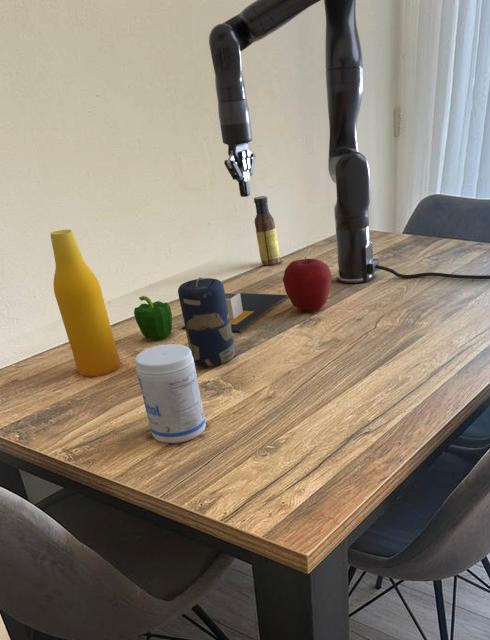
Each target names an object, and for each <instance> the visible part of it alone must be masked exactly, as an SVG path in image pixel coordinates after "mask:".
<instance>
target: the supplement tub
mask: <svg viewBox="0 0 490 640" xmlns="http://www.w3.org/2000/svg"><path fill="white" fill-rule="evenodd" d="M134 361H135V370H136V373H137V378H138V382H139V387H140V392H141V395H142V400H143V403H144V409H145V412H146V416H147V420H148V424H149V428H150V433H151V435H152V436H153V438H154V439H155V440H157V441H159V442H162V443H167V444H179V443H185V442H188V441H191V440H193V439H195V438H197V437H198V436H200V435H202V434H203V432H204V431H205V429H206V425H207V424H206V418H205V413H204V407H203V402H202V396H201V391H200V386H199V380H198V374H197V369H196V364H195V363H194V359H193V356H192V353H191V350H190V348H189V346H186V345H183V344H175V343H173V344H172V343H171V344H161V345H155V346H152V347H149V348H146V349H144V350H142V351H140V352H139V353H137V355H136V356H135V359H134Z"/></svg>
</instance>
